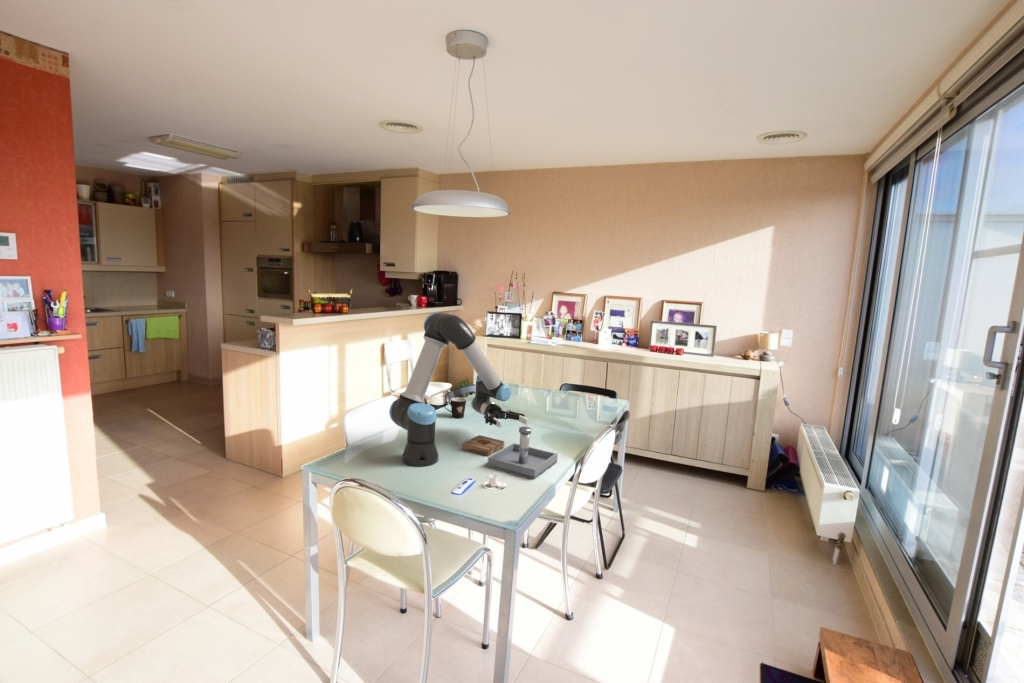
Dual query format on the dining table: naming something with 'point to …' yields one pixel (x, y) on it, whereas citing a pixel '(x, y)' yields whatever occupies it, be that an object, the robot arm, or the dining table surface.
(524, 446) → the lock pin
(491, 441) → the socket block
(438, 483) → the dining table surface
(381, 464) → the dining table surface
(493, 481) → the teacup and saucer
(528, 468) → the tray
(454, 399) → the coffee mug
